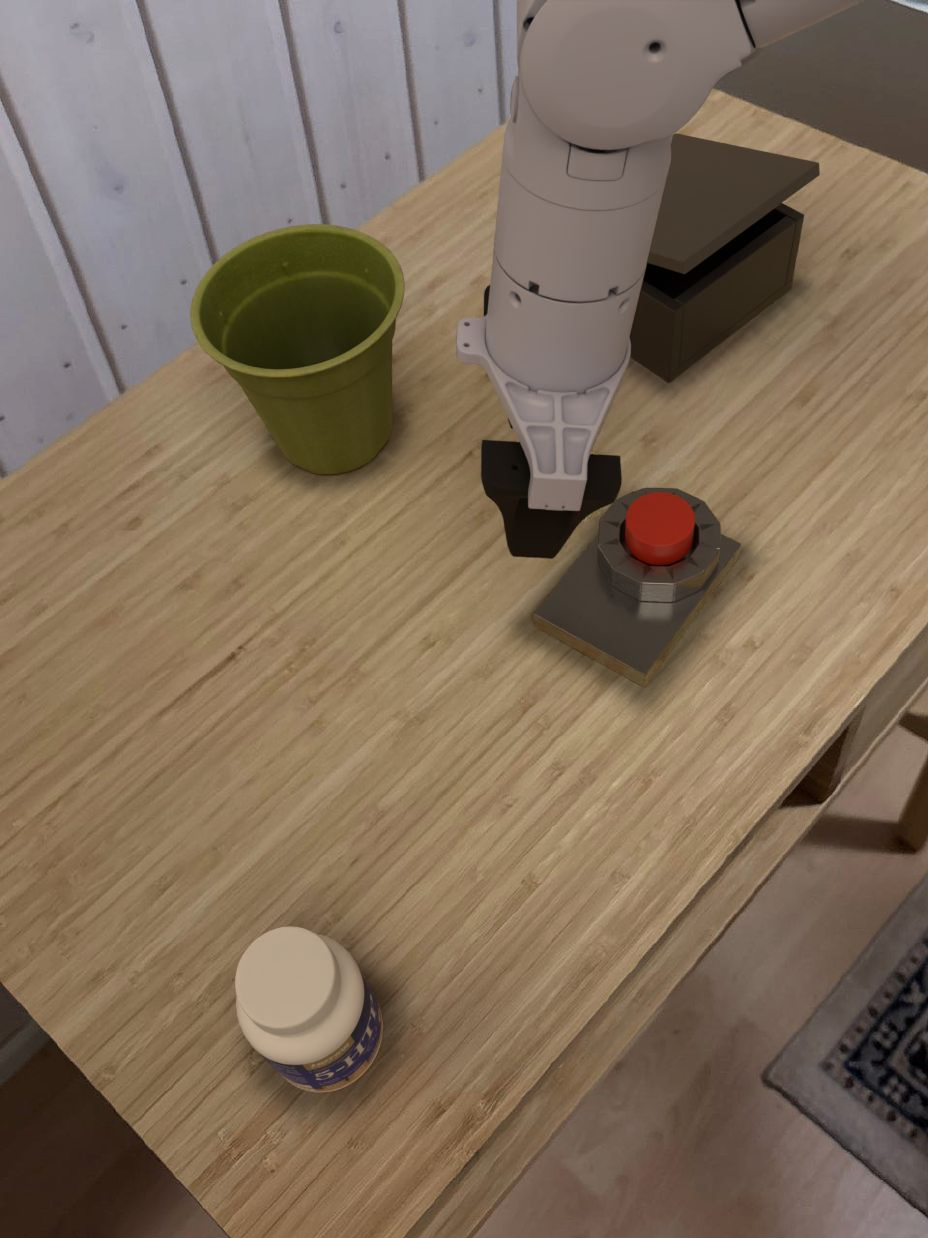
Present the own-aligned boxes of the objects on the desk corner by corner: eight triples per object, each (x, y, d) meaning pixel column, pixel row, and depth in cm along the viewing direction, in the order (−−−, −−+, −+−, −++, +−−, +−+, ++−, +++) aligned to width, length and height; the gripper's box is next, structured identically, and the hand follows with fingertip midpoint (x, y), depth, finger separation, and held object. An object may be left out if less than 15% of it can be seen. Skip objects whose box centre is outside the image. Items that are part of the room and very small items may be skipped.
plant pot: (207, 430, 73) (150, 292, 64) (359, 340, 76) (326, 195, 67) (308, 541, 67) (261, 408, 58) (467, 439, 70) (448, 296, 61)
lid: (820, 175, 67) (819, 162, 67) (684, 274, 64) (682, 261, 63) (677, 144, 75) (675, 132, 74) (549, 231, 71) (546, 220, 71)
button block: (633, 501, 67) (635, 468, 64) (741, 554, 64) (747, 521, 61) (533, 626, 63) (531, 595, 60) (644, 688, 60) (646, 658, 57)
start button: (647, 502, 63) (648, 481, 62) (705, 530, 62) (707, 509, 60) (612, 546, 62) (612, 526, 60) (670, 576, 60) (672, 556, 59)
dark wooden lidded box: (791, 288, 75) (805, 214, 70) (669, 383, 71) (674, 311, 67) (671, 218, 80) (675, 144, 75) (550, 303, 76) (548, 232, 71)
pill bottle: (341, 1118, 50) (297, 1075, 42) (246, 1055, 52) (189, 1002, 44) (407, 1009, 52) (376, 950, 45) (314, 952, 54) (270, 886, 46)
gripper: (466, 125, 46) (451, 369, 58) (458, 387, 38) (442, 610, 50) (640, 136, 47) (590, 377, 58) (666, 398, 39) (603, 617, 50)
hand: (531, 485), depth 54 cm, fingers open, 7 cm apart
